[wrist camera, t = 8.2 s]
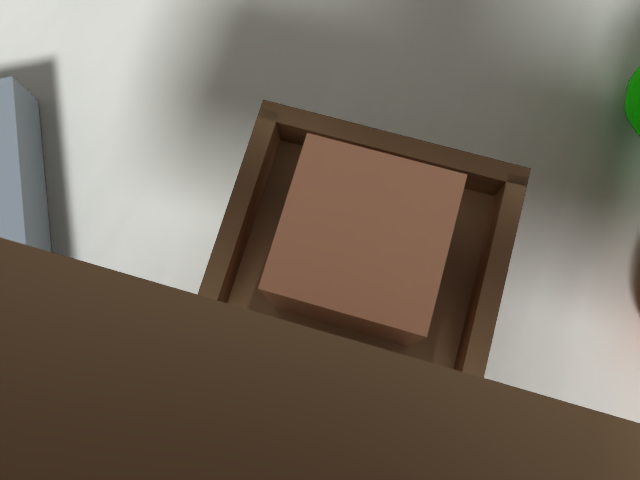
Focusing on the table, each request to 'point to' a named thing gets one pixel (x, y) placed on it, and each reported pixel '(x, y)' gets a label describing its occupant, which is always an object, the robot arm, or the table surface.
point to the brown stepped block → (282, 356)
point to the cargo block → (363, 240)
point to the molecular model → (633, 101)
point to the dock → (22, 168)
